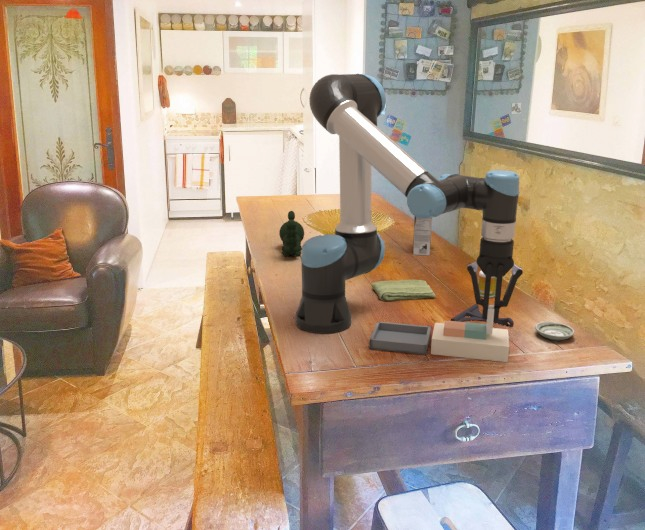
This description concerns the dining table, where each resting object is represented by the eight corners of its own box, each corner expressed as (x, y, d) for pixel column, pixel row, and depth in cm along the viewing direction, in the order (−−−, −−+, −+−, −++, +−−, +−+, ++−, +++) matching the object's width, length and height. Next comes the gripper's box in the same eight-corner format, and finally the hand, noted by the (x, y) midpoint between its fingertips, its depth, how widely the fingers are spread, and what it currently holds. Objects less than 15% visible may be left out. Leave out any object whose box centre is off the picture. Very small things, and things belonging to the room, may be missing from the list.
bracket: (501, 337, 165) (502, 327, 164) (449, 323, 174) (450, 314, 173) (522, 321, 176) (523, 312, 175) (473, 309, 185) (473, 300, 184)
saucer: (552, 347, 158) (553, 338, 157) (526, 333, 167) (527, 324, 166) (581, 341, 162) (583, 332, 161) (554, 327, 170) (555, 319, 170)
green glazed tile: (464, 337, 153) (464, 329, 153) (464, 329, 158) (465, 322, 157) (485, 339, 152) (486, 331, 152) (485, 331, 157) (486, 324, 156)
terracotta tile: (443, 335, 154) (443, 327, 154) (444, 327, 159) (445, 320, 158) (464, 337, 153) (464, 329, 153) (464, 329, 158) (465, 322, 157)
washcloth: (437, 300, 191) (438, 290, 190) (380, 303, 188) (380, 293, 187) (423, 286, 203) (424, 276, 202) (370, 288, 200) (370, 279, 199)
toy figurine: (305, 266, 227) (304, 242, 250) (304, 216, 220) (303, 195, 243) (278, 266, 227) (280, 242, 250) (277, 216, 220) (279, 195, 243)
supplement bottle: (496, 298, 191) (498, 267, 188) (477, 297, 192) (480, 266, 189) (495, 292, 196) (497, 262, 193) (477, 291, 197) (479, 261, 194)
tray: (369, 348, 156) (369, 339, 156) (377, 330, 168) (377, 321, 167) (426, 354, 153) (426, 345, 152) (430, 335, 164) (431, 326, 164)
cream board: (430, 354, 154) (431, 338, 152) (434, 336, 163) (435, 322, 162) (507, 362, 149) (509, 346, 148) (506, 344, 159) (508, 329, 158)
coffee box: (412, 248, 244) (414, 207, 239) (429, 248, 243) (432, 207, 238) (412, 254, 236) (414, 212, 231) (430, 255, 235) (432, 212, 230)
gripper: (468, 240, 145) (461, 335, 152) (527, 244, 142) (517, 340, 149) (469, 232, 152) (462, 323, 159) (525, 235, 149) (516, 328, 156)
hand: (488, 331), depth 154 cm, fingers closed
